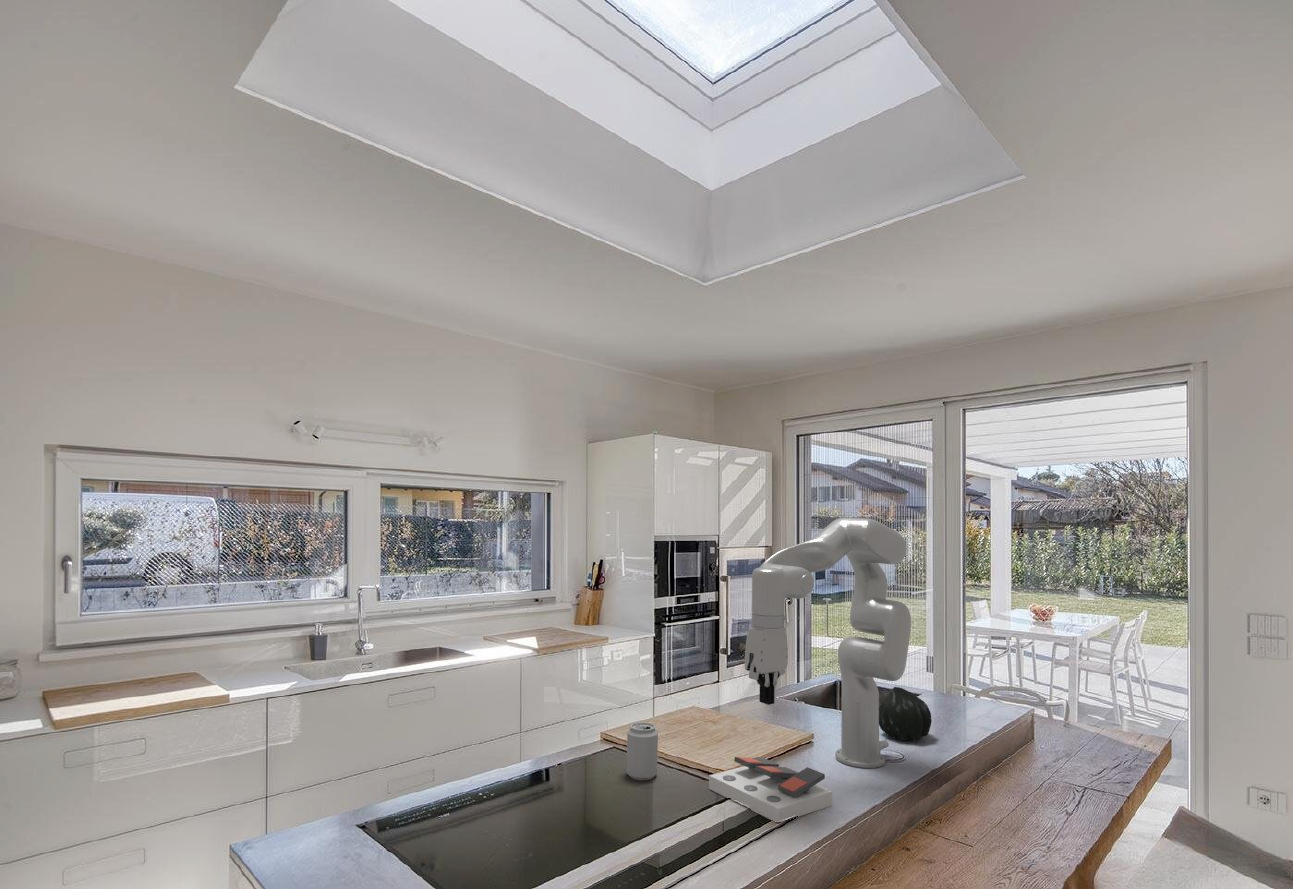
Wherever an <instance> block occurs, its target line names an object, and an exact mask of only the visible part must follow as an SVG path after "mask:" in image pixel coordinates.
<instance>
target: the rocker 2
mask: <svg viewBox="0 0 1293 889" xmlns="http://www.w3.org/2000/svg"><path fill="white" fill-rule="evenodd" d="M798 772H799V773H797V774H795V775H794V776H792V777H791V778H789V779H787V780H786V781H784V782H782V783H781V784H779V785H777V786H778V790H780V791H782V792H784V793H786V794H788V795H791V796H793V797H797V796H798V795H800V794H801V793H803V792H804V791H806V790H808V789H809V788H811V787H812V786H814V785H817V784H818V783H820V782H821V781H823V780H826V775H825V773H822V772H821V771H818V770H815V769H813V768H811V767H808V766H807V767H806V768H804V769H801V770H800V771H798Z"/></svg>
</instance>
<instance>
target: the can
mask: <svg viewBox="0 0 1293 889" xmlns="http://www.w3.org/2000/svg"><path fill="white" fill-rule="evenodd" d="M629 726H630V728H628V731H627V734H626V735H627V736H626V738H627V740H626V769H625V770H626V771H625V772H626V774H627V775H628V776H629V777H630V778H631V779H633V780H637V781H649V780H652V779H654V777H655V776H656V775H657V774H658V752H659V751H658V749H659V748H658V747H659V746H658V745H659V732H658V730H657V729H656V725H655V724H653V723H652V722H646V721H645V722H644V721H640V722H633V723H631V724H630V725H629Z"/></svg>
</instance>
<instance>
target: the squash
mask: <svg viewBox="0 0 1293 889" xmlns="http://www.w3.org/2000/svg"><path fill="white" fill-rule="evenodd" d="M930 710H931V709H930V708H929V705H928V704H927V703H926V702H925V701H924V700H923V699H921V698H920V697H918V696H917V695H916V694H914V693H913V692H911V691H909V690H907V689H905V688H903V687H900V686H899V687H898V686H894V687H892V688H891V690H890V691H889V693H888V694H887V695H886V696H885V697H884V699H883V700H882V701H881V702H880V704H879V729H881V731H883V733H884V734H886V735H887V736H888V738H889V737H890V738H892V739H899V740H900V741H902V742H907V741H908V740H909V741H910V742H917V741H919V740H920V739H921V738H925V737H926V736H928V735H929V733H930V729H931V726H932V712H931V711H930Z"/></svg>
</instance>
